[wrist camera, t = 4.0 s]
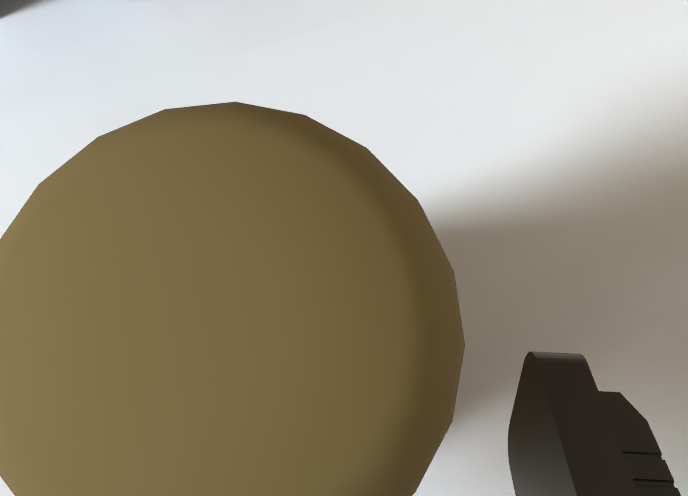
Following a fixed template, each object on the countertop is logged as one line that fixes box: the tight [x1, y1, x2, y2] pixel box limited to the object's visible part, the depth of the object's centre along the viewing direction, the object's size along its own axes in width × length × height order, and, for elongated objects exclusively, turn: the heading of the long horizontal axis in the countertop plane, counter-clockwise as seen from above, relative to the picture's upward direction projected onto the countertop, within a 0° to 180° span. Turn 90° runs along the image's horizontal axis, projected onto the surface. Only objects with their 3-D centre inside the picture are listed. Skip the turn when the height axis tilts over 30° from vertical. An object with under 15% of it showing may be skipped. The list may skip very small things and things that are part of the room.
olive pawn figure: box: [0, 102, 465, 496], centre depth 11 cm, size 6×6×11 cm
